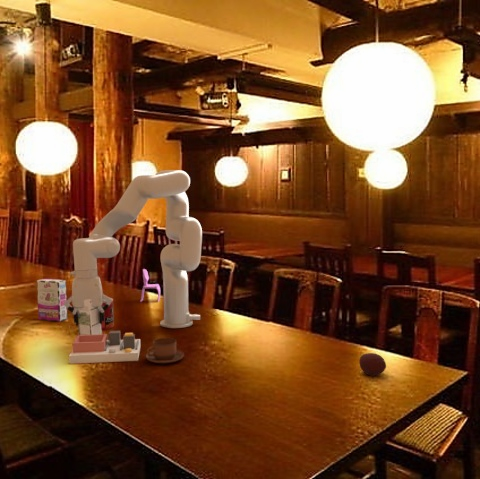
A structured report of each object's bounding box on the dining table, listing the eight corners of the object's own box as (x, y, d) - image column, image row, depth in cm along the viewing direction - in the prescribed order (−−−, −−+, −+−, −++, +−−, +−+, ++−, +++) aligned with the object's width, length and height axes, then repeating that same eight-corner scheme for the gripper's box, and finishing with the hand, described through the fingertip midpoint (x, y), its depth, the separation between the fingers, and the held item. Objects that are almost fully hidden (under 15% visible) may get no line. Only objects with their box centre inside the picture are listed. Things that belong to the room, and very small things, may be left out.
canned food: (109, 330, 219) (108, 301, 218) (89, 329, 221) (88, 301, 220) (117, 325, 227) (116, 297, 225) (98, 324, 228) (97, 296, 227)
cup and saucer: (167, 368, 174) (166, 349, 174) (137, 362, 181) (137, 343, 180) (191, 358, 184) (191, 339, 184) (163, 352, 191) (162, 334, 190)
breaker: (120, 342, 193) (120, 330, 193) (119, 344, 190) (119, 332, 190) (110, 342, 193) (109, 331, 193) (109, 345, 190) (108, 333, 190)
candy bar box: (68, 319, 237) (66, 279, 235) (60, 322, 232) (58, 281, 231) (46, 317, 241) (44, 278, 240) (37, 319, 237) (36, 280, 235)
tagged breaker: (134, 346, 189) (134, 332, 188) (134, 348, 186) (134, 334, 186) (124, 346, 189) (123, 332, 188) (123, 349, 186) (123, 335, 185)
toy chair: (158, 302, 268) (157, 270, 267) (139, 302, 268) (138, 270, 267) (161, 298, 276) (160, 267, 275) (142, 299, 276) (141, 267, 275)
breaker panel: (140, 346, 198) (140, 330, 197) (137, 360, 182) (137, 343, 181) (77, 348, 195) (76, 332, 195) (69, 363, 180) (68, 346, 179)
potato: (381, 369, 173) (381, 349, 172) (389, 378, 164) (389, 357, 164) (356, 369, 172) (357, 349, 172) (363, 379, 164) (364, 358, 163)
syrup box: (102, 335, 205) (99, 295, 203) (91, 340, 199) (88, 299, 197) (89, 334, 207) (86, 294, 205) (78, 339, 202) (75, 298, 200)
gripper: (58, 277, 196) (62, 328, 198) (110, 274, 198) (114, 325, 200) (62, 273, 203) (66, 322, 205) (113, 270, 205) (116, 319, 207)
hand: (89, 323), depth 202 cm, fingers closed on syrup box, 7 cm apart
